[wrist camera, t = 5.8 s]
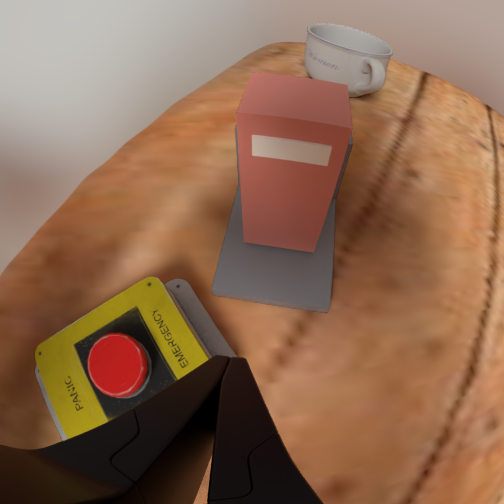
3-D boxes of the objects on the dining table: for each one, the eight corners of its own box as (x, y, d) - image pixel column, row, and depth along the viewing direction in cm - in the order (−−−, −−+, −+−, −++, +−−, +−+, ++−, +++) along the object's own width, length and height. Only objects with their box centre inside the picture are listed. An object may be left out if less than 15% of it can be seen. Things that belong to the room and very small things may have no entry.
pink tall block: (313, 254, 21) (352, 130, 12) (243, 243, 22) (235, 114, 12) (317, 208, 23) (347, 84, 13) (253, 198, 24) (252, 72, 14)
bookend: (326, 312, 20) (356, 269, 14) (213, 295, 21) (196, 245, 15) (333, 174, 27) (349, 114, 20) (247, 162, 27) (245, 99, 21)
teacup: (298, 64, 38) (302, 17, 31) (369, 73, 37) (379, 29, 30) (308, 117, 31) (317, 55, 24) (397, 127, 31) (417, 73, 24)
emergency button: (254, 376, 15) (51, 480, 11) (254, 382, 19) (84, 472, 15) (170, 247, 19) (2, 354, 15) (184, 276, 22) (36, 366, 19)
